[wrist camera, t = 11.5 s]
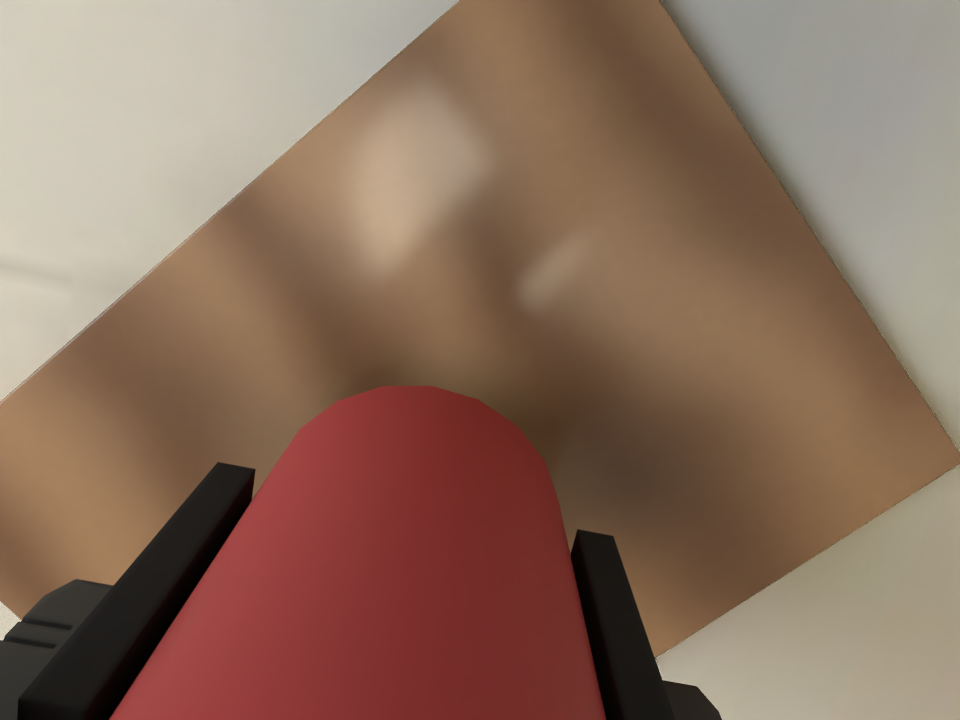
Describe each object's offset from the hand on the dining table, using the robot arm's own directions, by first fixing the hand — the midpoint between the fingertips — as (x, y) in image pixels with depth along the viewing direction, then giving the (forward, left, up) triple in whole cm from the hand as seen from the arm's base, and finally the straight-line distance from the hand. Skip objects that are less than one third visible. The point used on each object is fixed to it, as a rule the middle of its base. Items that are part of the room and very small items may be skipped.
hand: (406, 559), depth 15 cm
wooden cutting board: (0, 0, -4) cm, 4 cm away
